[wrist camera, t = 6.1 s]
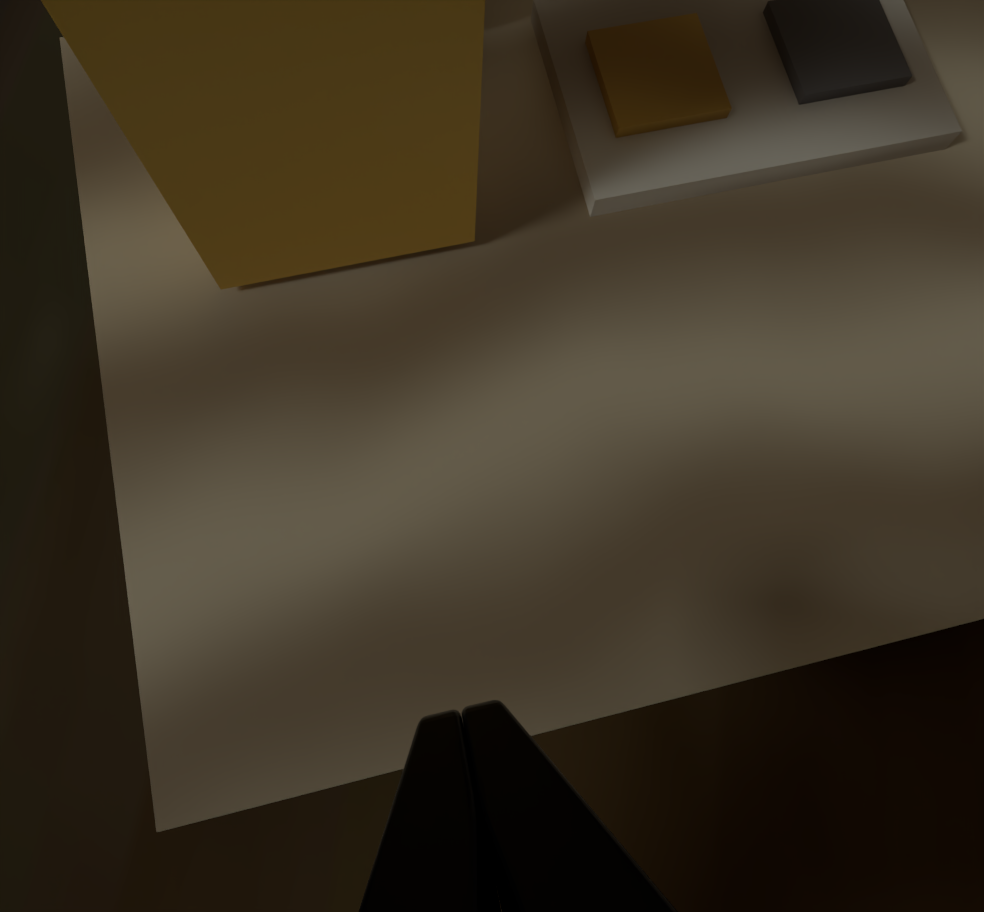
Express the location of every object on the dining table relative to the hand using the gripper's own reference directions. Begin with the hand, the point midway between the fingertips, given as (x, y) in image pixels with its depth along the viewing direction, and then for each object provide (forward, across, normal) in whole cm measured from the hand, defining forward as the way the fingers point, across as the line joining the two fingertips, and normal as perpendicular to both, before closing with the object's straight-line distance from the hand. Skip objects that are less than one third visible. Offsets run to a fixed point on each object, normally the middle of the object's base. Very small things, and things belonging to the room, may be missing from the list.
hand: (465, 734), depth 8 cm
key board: (+10, -9, 0) cm, 13 cm away
